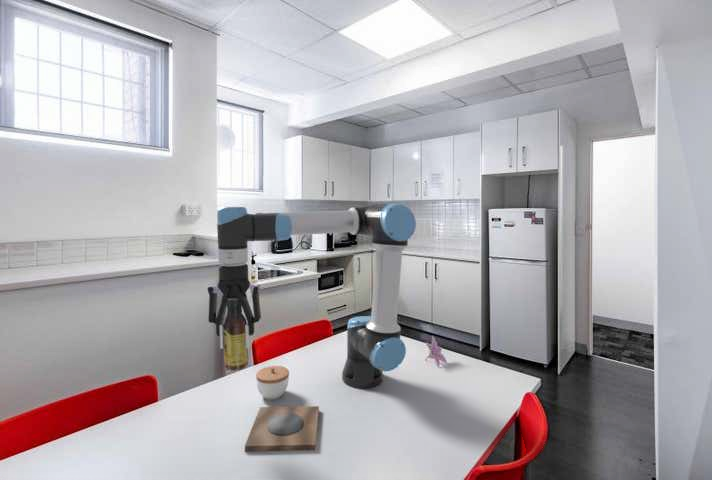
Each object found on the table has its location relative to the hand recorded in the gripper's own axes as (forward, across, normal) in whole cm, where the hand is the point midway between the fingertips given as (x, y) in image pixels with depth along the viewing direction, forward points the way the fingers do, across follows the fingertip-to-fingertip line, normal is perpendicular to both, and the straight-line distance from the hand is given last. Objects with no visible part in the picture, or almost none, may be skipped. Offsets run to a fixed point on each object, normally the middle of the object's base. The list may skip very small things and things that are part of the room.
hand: (235, 346), depth 97 cm
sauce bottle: (+6, 0, 0) cm, 6 cm away
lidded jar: (+25, +6, +19) cm, 31 cm away
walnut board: (+24, +13, 0) cm, 28 cm away
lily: (+26, +67, +43) cm, 84 cm away
